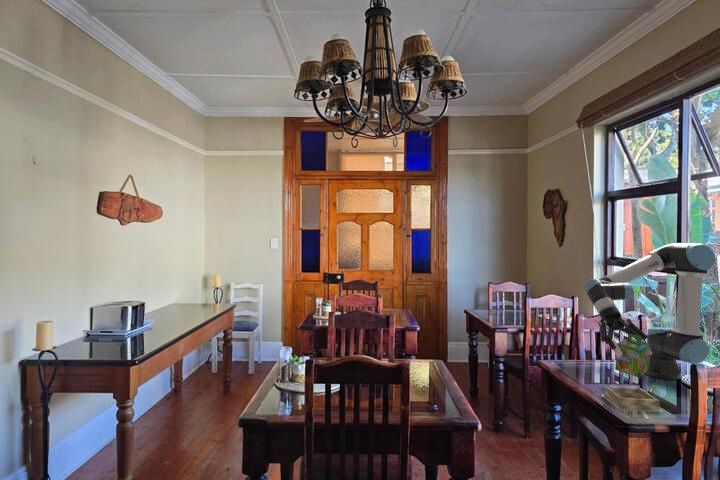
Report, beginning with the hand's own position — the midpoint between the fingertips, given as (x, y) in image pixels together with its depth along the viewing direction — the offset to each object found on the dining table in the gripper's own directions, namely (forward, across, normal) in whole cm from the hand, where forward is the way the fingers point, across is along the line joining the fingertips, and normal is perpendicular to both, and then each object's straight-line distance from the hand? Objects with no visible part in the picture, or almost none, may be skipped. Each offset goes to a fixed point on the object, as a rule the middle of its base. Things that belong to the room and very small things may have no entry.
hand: (635, 355), depth 167 cm
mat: (+13, 0, -16) cm, 20 cm away
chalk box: (+3, -1, -6) cm, 7 cm away
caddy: (+12, 0, -16) cm, 20 cm away
